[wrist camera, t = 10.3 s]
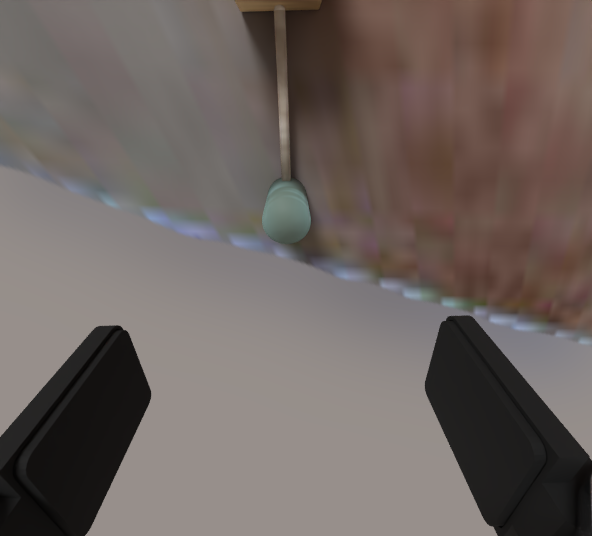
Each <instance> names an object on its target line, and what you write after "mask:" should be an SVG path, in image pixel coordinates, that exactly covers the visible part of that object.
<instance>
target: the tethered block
mask: <svg viewBox="0 0 592 536" xmlns="http://www.w3.org/2000/svg"><path fill="white" fill-rule="evenodd" d="M235 2H236V4H237V6H238V8H239V9H240V11H241V12H250V11H274V24H275V45H276V66H277V87H278V109H279V130H280V151H281V172H282V178H280V179H278V180H276V181H275V182H274V183H273V184H272V185H271V187H270V189H269V192H268V196H267V200H266V204H265V209H264V213H263V217H262V224H263V228H264V230H265V232H266V234H267V235H268V236H269V237H270V238H271V239H272V240H274V241H276V242H278V243H282V244H292V243H295V242H298V241H300V240H301V239H302V238H304V237H305V236H306V234H307V233H308V231H309V229H310V225H311V217H310V211H309V206H308V200H307V194H306V190H305V188H304V186H303V185H302V183H301V182H300V181H298V180H297V179H295V178H292V177H291V167H290V137H289V106H288V76H287V46H286V15H285V11H286V10H319V8H320V5H321V2H322V0H235Z"/></svg>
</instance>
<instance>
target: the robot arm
mask: <svg viewBox="0 0 592 536" xmlns="http://www.w3.org/2000/svg"><path fill="white" fill-rule="evenodd" d="M425 391H426V394H427V397H428V399H429V401H430V403H431V405H432V407H433V410H434V412H435V414H436V416H437V418H438V421H439V423H440V425H441V427H442V429H443V432H444V434H445V436H446V438H447V440H448V442H449V445H450V447H451V449H452V451H453V453H454V455H455V458H456V460H457V462H458V464H459V466H460V469H461V471H462V473H463V475H464V477H465V479H466V482H467V484H468V486H469V488H470V490H471V492H472V495H473V497H474V499H475V501H476V503H477V505H478V508H479V510H480V512H481V514H482V516H483V518H484V520H485V521H486V523H487V524H488V525H489V526H493V527H494V529H495V531H496V533H497V535H498V536H592V460H591V459H590V458H589V455H588V454H587V453H586V452H585V451H584V449H583V448H582V447H581V446H580V445H579V443H578V442H577V441H576V440H575V439H574V438H573V436H572V435H571V434H570V433H569V431H568V430H567V429H566V428H565V427H564V425H563V424H562V423H561V422H560V421H559V420H558V418H557V417H556V416H555V415H554V414H553V412H552V411H551V410H550V409H549V408H548V406H547V405H546V404H545V403H544V402H543V400H542V399H541V398H540V397H539V396H538V395H537V393H536V392H535V391H534V390H533V388H532V387H531V386H530V385H529V384H528V383H527V381H526V380H525V379H524V378H523V377H522V375H521V374H520V373H519V372H518V371H517V369H516V368H515V367H514V366H513V365H512V363H511V362H510V361H509V360H508V359H507V357H506V356H505V355H504V354H503V353H502V352H501V350H500V349H499V348H498V347H497V346H496V344H495V343H494V342H493V341H492V340H491V338H490V337H489V336H488V335H487V334H486V332H485V331H484V330H483V329H482V328H481V327H480V325H479V324H478V323H477V322H476V321H475V319H474V318H473V317H471V316H449V317H448V318H447V319H446V321H443V322H442V323H441V325H440V328H439V332H438V336H437V340H436V343H435V347H434V351H433V355H432V359H431V362H430V366H429V370H428V373H427V377H426V381H425ZM150 399H151V390H150V387H149V385H148V382H147V379H146V377H145V375H144V372H143V369H142V367H141V364H140V361H139V359H138V356H137V354H136V351H135V348H134V346H133V343H132V341H131V338H130V336H129V333H128V332H127V331H126V330H123V328H122V327H121V326H98V327H96V328H95V329H94V330H93V331H92V332H91V333H90V334H89V335H88V337H87V338H86V339H85V340H84V341H83V342H82V344H81V345H80V346H79V347H78V348H77V349H76V350H75V352H74V353H73V354H72V355H71V356H70V357H69V358H68V360H67V361H66V362H65V363H64V364H63V365H62V367H61V368H60V369H59V370H58V371H57V372H56V374H55V375H54V376H53V377H52V378H51V379H50V380H49V381H48V383H47V384H46V385H45V386H44V387H43V388H42V390H41V391H40V392H39V393H38V394H37V395H36V397H35V398H34V399H33V400H32V401H31V402H30V403H29V405H28V406H27V407H26V408H25V409H24V410H23V412H22V413H21V414H20V415H19V416H18V417H17V419H16V420H15V421H14V422H13V423H12V424H11V425H10V426H9V428H8V429H7V430H6V431H5V432H4V434H3V435H2V436H1V437H0V536H85V535H86V534H87V532H88V531H89V529H90V528H91V526H92V524H93V522H94V519H95V517H96V515H97V513H98V511H99V509H100V507H101V505H102V502H103V500H104V498H105V496H106V494H107V492H108V490H109V488H110V486H111V483H112V481H113V479H114V477H115V475H116V473H117V471H118V469H119V466H120V464H121V462H122V460H123V458H124V455H125V453H126V452H127V449H128V447H129V445H130V443H131V441H132V439H133V437H134V435H135V433H136V430H137V428H138V426H139V424H140V422H141V420H142V418H143V416H144V413H145V411H146V409H147V407H148V405H149V403H150Z"/></svg>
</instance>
